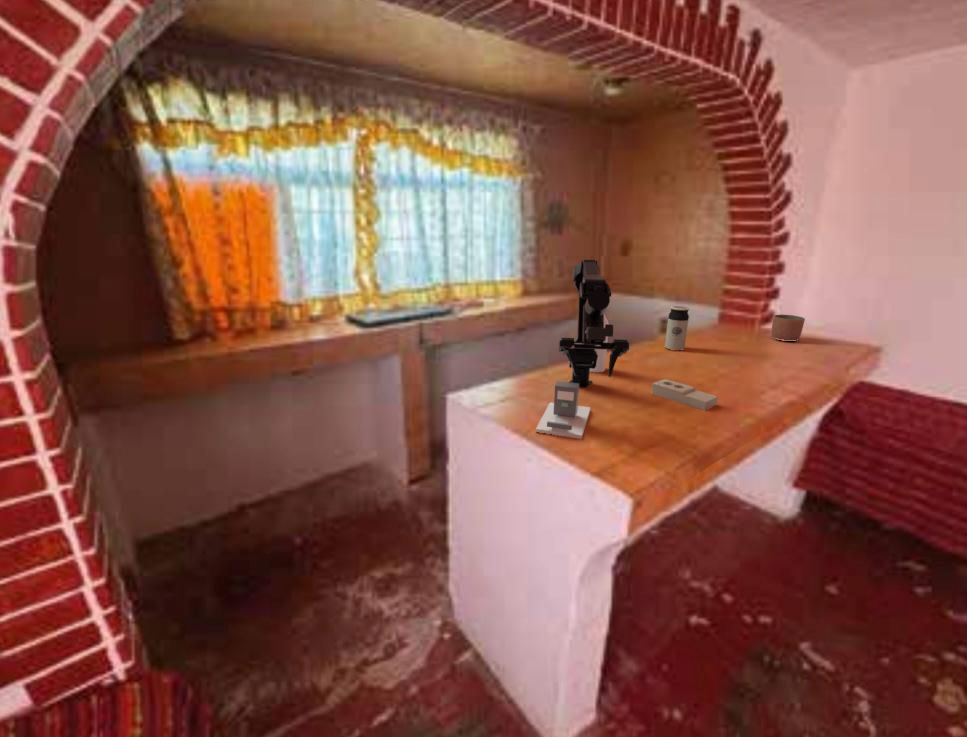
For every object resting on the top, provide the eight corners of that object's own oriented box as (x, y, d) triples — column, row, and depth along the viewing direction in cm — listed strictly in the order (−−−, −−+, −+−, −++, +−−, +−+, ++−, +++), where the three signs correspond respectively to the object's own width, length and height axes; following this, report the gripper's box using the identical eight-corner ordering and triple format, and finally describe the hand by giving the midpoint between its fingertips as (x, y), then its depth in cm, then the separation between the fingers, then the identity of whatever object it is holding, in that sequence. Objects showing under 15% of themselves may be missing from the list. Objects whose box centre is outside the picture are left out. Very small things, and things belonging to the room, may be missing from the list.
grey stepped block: (706, 398, 142) (652, 382, 156) (704, 411, 144) (650, 394, 157) (718, 393, 147) (664, 378, 160) (716, 406, 148) (663, 389, 161)
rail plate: (549, 405, 146) (550, 396, 145) (590, 410, 143) (591, 401, 142) (535, 432, 128) (536, 421, 127) (581, 439, 124) (582, 428, 124)
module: (556, 409, 138) (557, 381, 136) (577, 412, 137) (579, 383, 134) (553, 415, 134) (554, 386, 132) (574, 418, 132) (576, 388, 130)
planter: (799, 344, 218) (804, 321, 214) (768, 341, 224) (772, 317, 221) (800, 339, 228) (805, 316, 224) (770, 335, 234) (774, 313, 231)
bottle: (578, 367, 183) (584, 287, 174) (596, 365, 186) (603, 286, 176) (590, 373, 176) (597, 290, 166) (609, 371, 178) (617, 289, 169)
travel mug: (667, 345, 215) (672, 305, 209) (686, 348, 210) (692, 307, 205) (662, 349, 209) (667, 307, 203) (681, 352, 204) (687, 310, 199)
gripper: (561, 311, 129) (560, 369, 126) (633, 313, 127) (633, 372, 124) (559, 323, 140) (557, 376, 137) (625, 325, 138) (625, 379, 135)
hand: (592, 376), depth 133 cm, fingers open, 9 cm apart
